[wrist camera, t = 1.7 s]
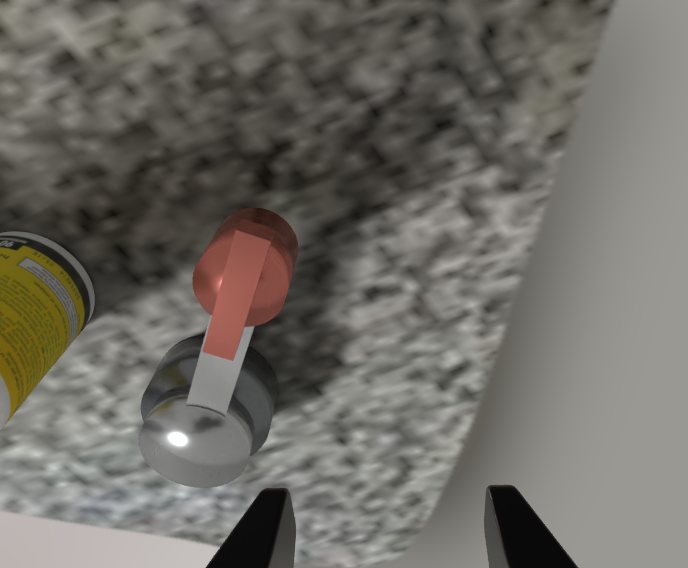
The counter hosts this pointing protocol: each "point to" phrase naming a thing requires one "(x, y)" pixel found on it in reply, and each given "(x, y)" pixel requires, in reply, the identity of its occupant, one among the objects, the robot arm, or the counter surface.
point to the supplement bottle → (37, 312)
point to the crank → (222, 352)
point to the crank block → (251, 388)
